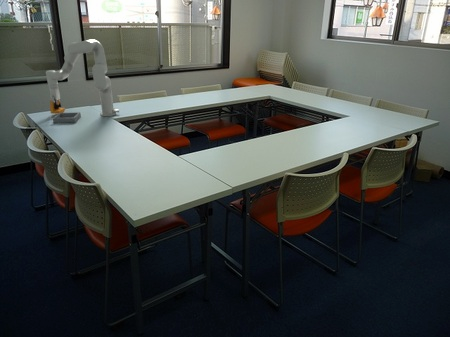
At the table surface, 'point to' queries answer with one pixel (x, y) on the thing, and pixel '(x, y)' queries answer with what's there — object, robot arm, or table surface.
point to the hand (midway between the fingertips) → (57, 108)
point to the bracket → (56, 111)
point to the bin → (67, 117)
